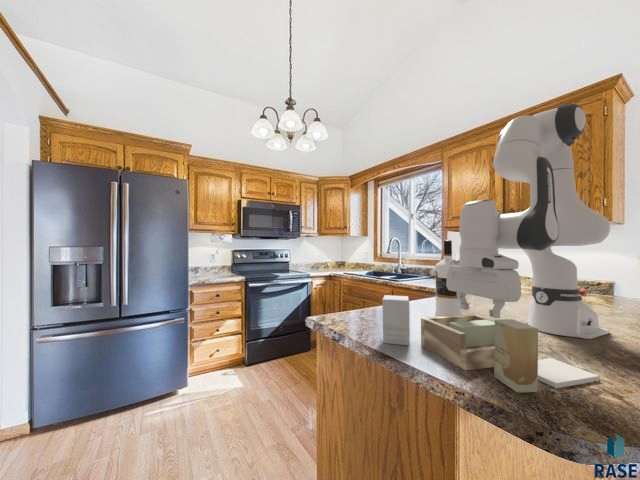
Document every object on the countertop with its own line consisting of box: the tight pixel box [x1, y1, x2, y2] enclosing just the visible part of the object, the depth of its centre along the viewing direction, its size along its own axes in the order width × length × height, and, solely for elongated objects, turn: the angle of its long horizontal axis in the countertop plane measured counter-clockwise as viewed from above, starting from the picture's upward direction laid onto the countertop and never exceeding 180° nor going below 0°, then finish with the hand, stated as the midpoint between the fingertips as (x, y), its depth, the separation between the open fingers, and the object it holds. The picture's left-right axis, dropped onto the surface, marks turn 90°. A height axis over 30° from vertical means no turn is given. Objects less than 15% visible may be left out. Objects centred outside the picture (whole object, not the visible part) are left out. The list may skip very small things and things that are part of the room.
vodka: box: [434, 239, 463, 317], centre depth 92 cm, size 9×9×30 cm
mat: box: [538, 357, 601, 389], centre depth 57 cm, size 12×9×1 cm
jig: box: [420, 313, 496, 371], centre depth 69 cm, size 18×16×8 cm
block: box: [449, 320, 495, 347], centre depth 69 cm, size 12×4×5 cm, turn 105°
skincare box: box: [493, 318, 539, 394], centre depth 53 cm, size 6×4×12 cm
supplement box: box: [381, 294, 411, 346], centre depth 78 cm, size 7×7×13 cm
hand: (478, 313), depth 69 cm, fingers open, 8 cm apart
